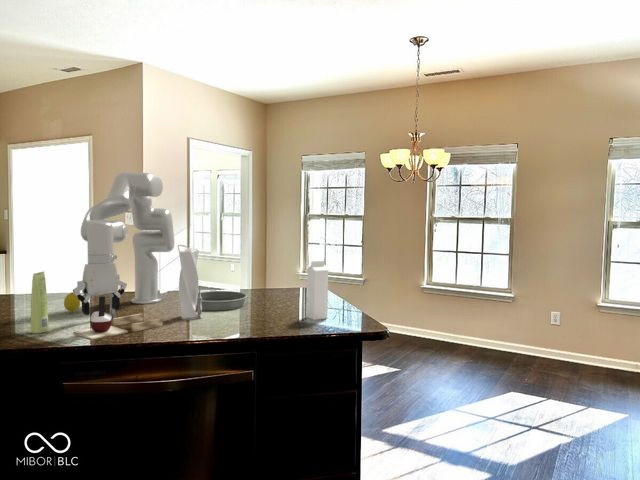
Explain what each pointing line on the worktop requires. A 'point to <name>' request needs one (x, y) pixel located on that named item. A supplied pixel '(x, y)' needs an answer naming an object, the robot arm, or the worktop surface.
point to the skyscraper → (189, 285)
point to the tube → (39, 304)
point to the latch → (112, 311)
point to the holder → (136, 319)
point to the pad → (100, 333)
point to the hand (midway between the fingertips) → (101, 311)
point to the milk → (317, 290)
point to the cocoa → (101, 318)
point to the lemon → (71, 302)
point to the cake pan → (222, 300)
